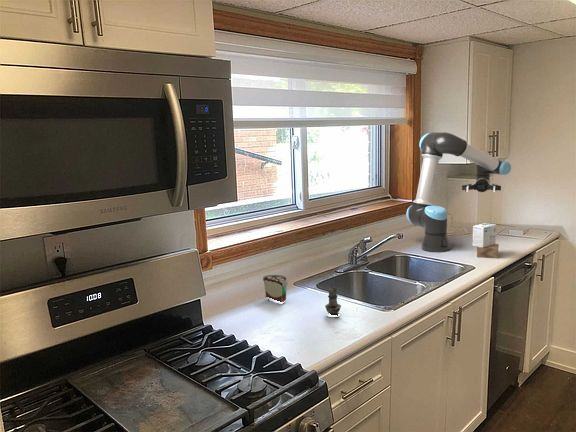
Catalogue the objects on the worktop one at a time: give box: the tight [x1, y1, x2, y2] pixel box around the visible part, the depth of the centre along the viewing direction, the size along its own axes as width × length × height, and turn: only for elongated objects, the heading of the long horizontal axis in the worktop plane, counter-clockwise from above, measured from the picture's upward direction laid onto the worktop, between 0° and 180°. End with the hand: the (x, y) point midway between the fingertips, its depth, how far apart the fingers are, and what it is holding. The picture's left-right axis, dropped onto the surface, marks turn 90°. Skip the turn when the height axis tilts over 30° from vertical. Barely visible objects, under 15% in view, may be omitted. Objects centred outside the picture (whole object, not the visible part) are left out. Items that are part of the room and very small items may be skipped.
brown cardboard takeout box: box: [476, 243, 499, 259], centre depth 243 cm, size 10×10×5 cm
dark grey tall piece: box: [324, 284, 342, 316], centre depth 173 cm, size 6×6×12 cm
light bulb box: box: [472, 222, 497, 248], centre depth 243 cm, size 11×7×11 cm, turn 123°
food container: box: [262, 274, 289, 302], centre depth 191 cm, size 12×6×10 cm, turn 44°
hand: (480, 189), depth 256 cm, fingers open, 13 cm apart
